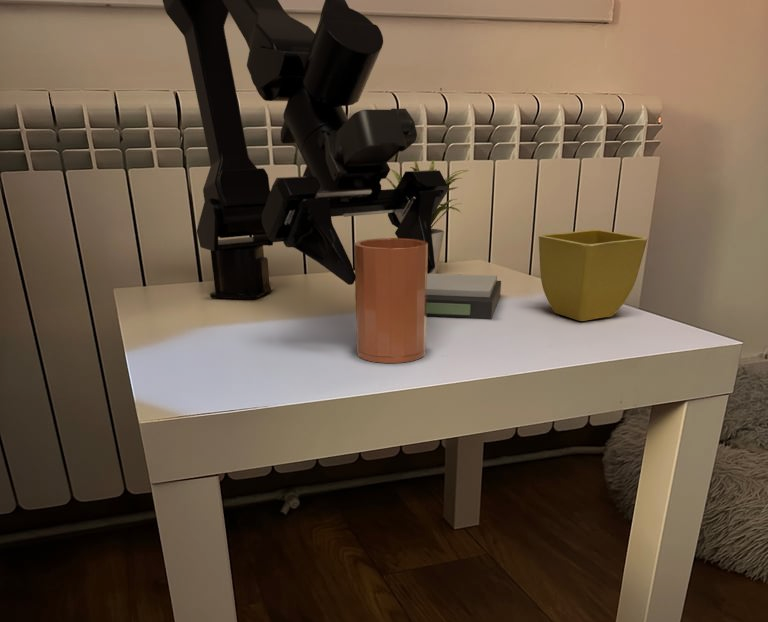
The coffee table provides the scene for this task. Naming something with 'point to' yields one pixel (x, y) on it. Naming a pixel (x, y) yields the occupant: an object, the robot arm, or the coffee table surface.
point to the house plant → (436, 233)
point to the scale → (462, 295)
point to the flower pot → (589, 271)
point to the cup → (391, 299)
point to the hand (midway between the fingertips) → (393, 276)
